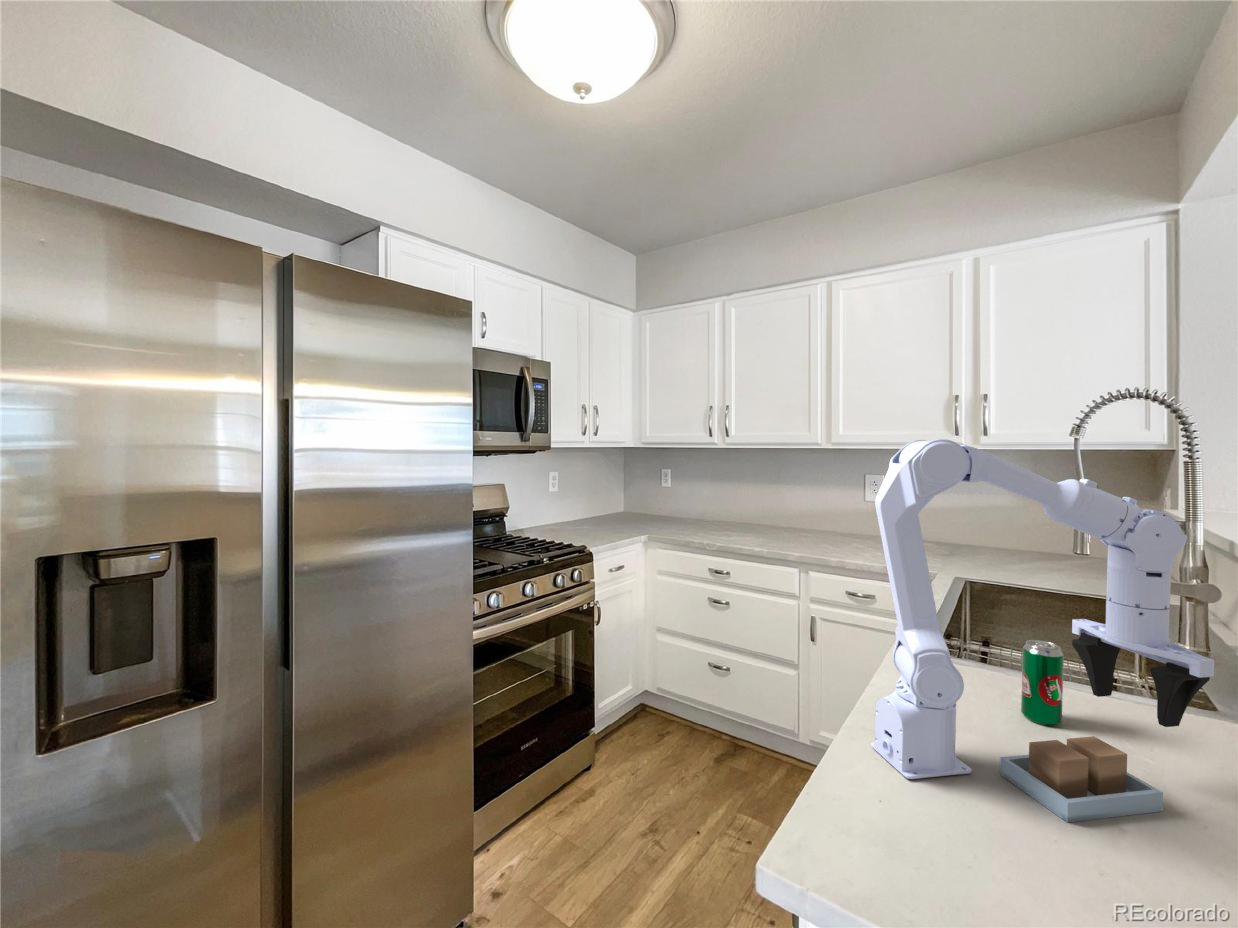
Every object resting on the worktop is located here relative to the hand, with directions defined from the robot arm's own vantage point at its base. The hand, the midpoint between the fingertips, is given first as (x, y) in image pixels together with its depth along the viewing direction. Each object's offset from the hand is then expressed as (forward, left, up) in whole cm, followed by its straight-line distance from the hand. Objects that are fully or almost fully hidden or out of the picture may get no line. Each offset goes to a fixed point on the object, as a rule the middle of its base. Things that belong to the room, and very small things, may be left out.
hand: (1133, 709), depth 67 cm
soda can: (+4, +16, -10) cm, 19 cm away
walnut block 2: (-5, 0, -9) cm, 11 cm away
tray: (-8, 0, -10) cm, 13 cm away
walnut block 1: (-11, 0, -9) cm, 14 cm away
